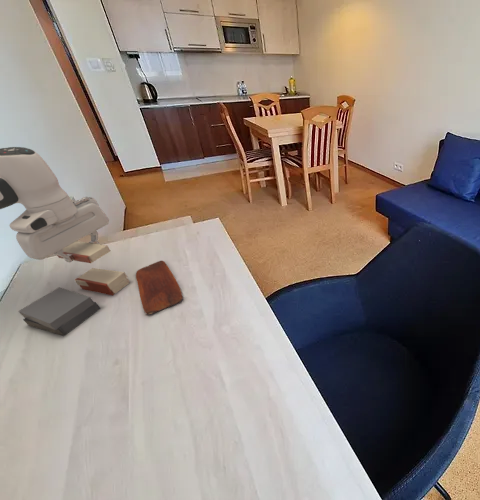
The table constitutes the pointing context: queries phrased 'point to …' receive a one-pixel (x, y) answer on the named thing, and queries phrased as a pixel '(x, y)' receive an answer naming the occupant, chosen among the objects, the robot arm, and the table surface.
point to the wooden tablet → (157, 287)
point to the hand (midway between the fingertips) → (84, 253)
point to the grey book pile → (59, 311)
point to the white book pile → (103, 281)
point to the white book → (86, 251)
